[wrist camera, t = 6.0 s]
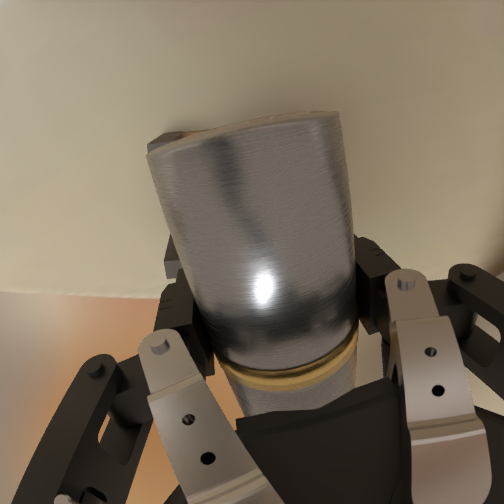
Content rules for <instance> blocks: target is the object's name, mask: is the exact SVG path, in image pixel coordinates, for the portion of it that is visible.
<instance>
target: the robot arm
mask: <svg viewBox="0 0 504 504" xmlns="http://www.w3.org/2000/svg"><path fill="white" fill-rule="evenodd" d="M353 234H354V233H353ZM354 248H355V266H356V293H357V304H358V310H359V320H360V321H361V323H362V324H363V326H364V328H365V329H366V331H367V333H368V334H369V335H371V334H374V333H376V332H380V334H381V335H382V337H381V352H382V364H383V365H382V366H383V378H382V379H380V380H377V381H374V382H371V383H369V384H366V385H363V386H360V387H357V388H354V389H352V390H351V391H349V392H347V393H345V394H344V395H342V396H340V397H338V398H337V399H335V400H333V401H331V402H330V403H328V404H326V405H324V406H322V407H320V408H317V409H309V410H288V411H272V412H267V413H263V414H258V415H253V416H248V417H243V418H238V419H236V427H237V430H235V431H234V430H233V428H232V426H231V424H230V423H229V421H228V420H227V418H226V416H225V415H224V413H223V412H222V410H221V408H220V406H219V405H218V403H217V401H216V400H215V398H214V396H213V394H212V392H211V391H210V389H209V387H208V385H207V384H206V380H205V379H206V378H205V377H206V376H211V375H214V374H215V369H214V351H213V349H212V347H211V344H210V341H209V334H208V332H207V330H206V327H205V325H204V322H203V320H202V317H201V315H200V312H199V309H198V307H197V304H196V302H195V299H194V297H193V294H192V291H191V289H190V286H189V283H188V281H187V278H186V275H185V273H184V270H183V268H180V269H178V273H177V278H176V283H172V284H168V285H167V287H166V288H165V289H164V291H163V292H162V293H161V298H160V303H159V307H158V312H157V316H156V321H155V326H154V331H153V333H151V334H149V335H148V336H146V337H145V338H144V339H143V340H142V342H141V343H140V345H139V348H138V354H137V355H136V356H133V357H131V358H129V359H126V360H124V361H121V362H119V363H117V362H116V361H115V359H114V358H113V357H112V356H111V355H108V354H100V355H97V356H94V357H92V358H90V359H89V360H87V361H86V362H85V363H84V364H83V365H82V367H81V368H80V370H79V372H78V373H77V375H76V377H75V378H74V380H73V382H72V383H71V385H70V387H69V389H68V390H67V392H66V394H65V396H64V398H63V399H62V401H61V403H60V405H59V406H58V409H57V410H56V412H55V414H54V416H53V417H52V420H51V421H50V423H49V425H48V427H47V429H46V431H45V433H44V435H43V437H42V439H41V441H40V442H39V444H38V446H37V449H36V451H35V452H34V455H33V457H32V459H31V461H30V463H29V465H28V467H27V469H26V471H25V474H24V476H23V478H22V480H21V482H20V485H19V487H18V489H17V492H16V494H15V496H14V498H13V501H12V503H11V504H125V503H126V500H127V497H128V494H129V491H130V488H131V484H132V482H133V478H134V475H135V473H136V469H137V466H138V464H139V461H140V458H141V455H142V452H143V448H144V446H145V443H146V440H147V437H148V434H149V431H150V428H151V425H152V422H153V419H154V421H155V424H156V427H157V429H158V432H159V435H160V438H161V440H162V443H163V445H164V448H165V451H166V453H167V456H168V458H169V461H170V463H171V466H172V468H173V470H174V473H175V475H176V477H177V480H178V482H179V485H178V486H177V487H176V489H175V490H174V491H173V493H172V494H171V495H170V496H169V497H168V499H167V500H166V501H165V502H164V504H504V416H502V415H499V414H496V413H494V412H491V411H488V410H485V409H483V408H480V407H477V406H475V405H473V400H472V396H471V391H470V387H469V383H468V379H467V375H466V371H465V367H467V368H468V369H469V370H470V371H471V372H472V373H474V374H475V375H476V376H477V377H478V378H479V379H481V380H482V381H483V382H484V383H485V384H486V385H487V386H489V387H490V388H491V389H492V390H493V391H494V392H495V393H496V394H498V395H499V396H500V397H501V398H502V399H503V400H504V282H503V281H501V280H499V279H498V278H496V277H495V276H493V275H491V274H489V273H488V272H486V271H484V270H483V269H481V268H479V267H477V266H475V265H472V264H464V263H463V264H457V265H454V266H453V267H451V268H450V270H449V274H448V279H444V280H434V281H427V279H426V277H425V276H424V275H423V274H422V273H420V272H418V271H416V270H412V269H401V268H400V267H399V266H398V265H397V264H396V263H395V262H394V261H393V260H392V259H391V258H390V257H389V256H388V255H387V254H385V252H384V251H383V250H382V249H380V247H379V246H378V245H377V244H376V243H375V242H374V241H372V240H369V239H367V238H365V237H360V238H358V237H357V236H356V235H355V234H354ZM478 314H479V315H480V316H482V317H483V318H485V319H486V320H487V321H489V322H490V323H492V324H493V325H494V326H496V327H497V328H498V330H499V332H500V335H501V340H500V343H499V342H498V341H497V340H495V339H494V338H492V337H491V336H489V334H487V333H486V332H485V331H483V330H482V329H480V328H479V327H478V326H476V325H475V323H476V319H477V316H478ZM464 366H465V367H464ZM107 414H108V415H109V417H110V420H109V422H108V425H107V427H106V429H105V432H104V434H103V436H102V438H101V441H100V443H99V442H98V433H99V431H100V428H101V426H102V424H103V422H104V420H105V417H106V415H107Z"/></svg>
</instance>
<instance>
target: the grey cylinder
mask: <svg viewBox="0 0 504 504" xmlns="http://www.w3.org/2000/svg"><path fill="white" fill-rule="evenodd" d="M146 158H147V161H148V164H149V168H150V171H151V174H152V178H153V181H154V184H155V187H156V191H157V194H158V197H159V200H160V203H161V206H162V209H163V212H164V215H165V218H166V221H167V224H168V227H169V230H170V233H171V236H172V239H173V242H174V245H175V248H176V250H177V253H178V256H179V259H180V262H181V264H182V267H183V270H184V273H185V275H186V278H187V281H188V283H189V286H190V289H191V291H192V294H193V297H194V299H195V302H196V304H197V307H198V309H199V312H200V315H201V317H202V320H203V322H204V325H205V327H206V330H207V332H208V334H209V341H210V344H211V347H212V349H213V351H214V354H215V356H216V358H217V361H218V363H219V364H220V366H221V368H222V369H223V370H224V372H225V375H226V377H227V379H228V381H229V384H230V386H231V388H232V390H233V393H234V395H235V397H236V399H237V401H238V404H239V406H240V408H241V410H242V412H243V414H244V417H248V416H253V415H258V414H263V413H267V412H272V411H288V410H309V409H317V408H320V407H322V406H324V405H326V404H328V403H330V402H331V401H333V400H335V399H337V398H338V397H340V396H342V395H344V394H345V393H347V392H349V391H351V390H352V389H354V388H356V363H357V341H358V334H359V310H358V304H357V293H356V266H355V248H354V234H353V221H352V210H351V199H350V190H349V181H348V172H347V164H346V157H345V149H344V142H343V136H342V129H341V123H340V117H339V113H338V112H334V111H314V112H301V113H292V114H285V115H278V116H271V117H265V118H260V119H255V120H250V121H245V122H240V123H236V124H231V125H227V126H223V127H219V128H215V129H212V130H208V131H205V132H201V133H198V134H194V135H191V136H188V137H185V138H182V139H179V140H176V141H174V142H171V143H168V144H166V145H163V146H161V147H159V148H156V149H154V150H152V151H151V152H149V153H147V154H146Z"/></svg>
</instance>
